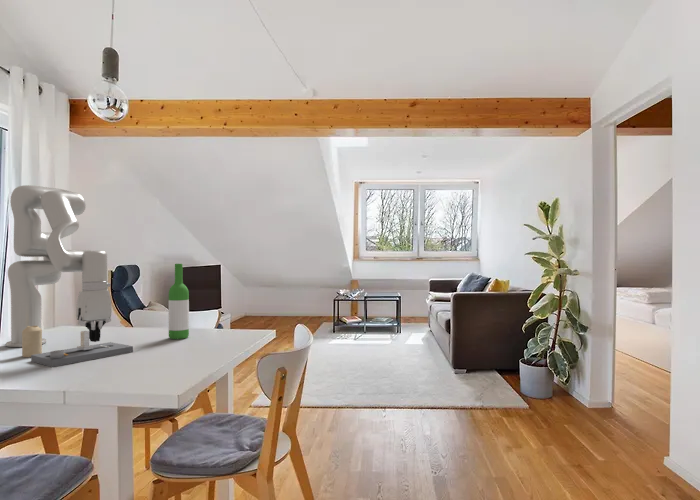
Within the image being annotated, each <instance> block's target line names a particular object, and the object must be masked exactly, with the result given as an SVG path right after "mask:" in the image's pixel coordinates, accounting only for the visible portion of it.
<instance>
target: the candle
mask: <svg viewBox="0 0 700 500" xmlns="http://www.w3.org/2000/svg"><path fill="white" fill-rule="evenodd" d="M42 338H43V330H42V327H41V328H39V327H38V326H27V327H26V328H25V329H24V330H23V331H22V347H21V349H22V350H21V354H22V358H31V355H34V354H41V353H43V344H42Z"/></svg>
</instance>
